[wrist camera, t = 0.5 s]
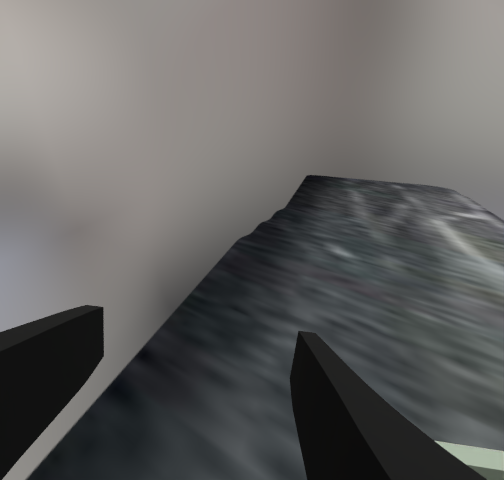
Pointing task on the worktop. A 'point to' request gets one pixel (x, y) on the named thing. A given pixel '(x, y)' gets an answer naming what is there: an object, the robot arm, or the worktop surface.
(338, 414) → the robot arm
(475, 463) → the pale green rail frame
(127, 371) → the worktop surface
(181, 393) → the worktop surface
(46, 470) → the worktop surface
